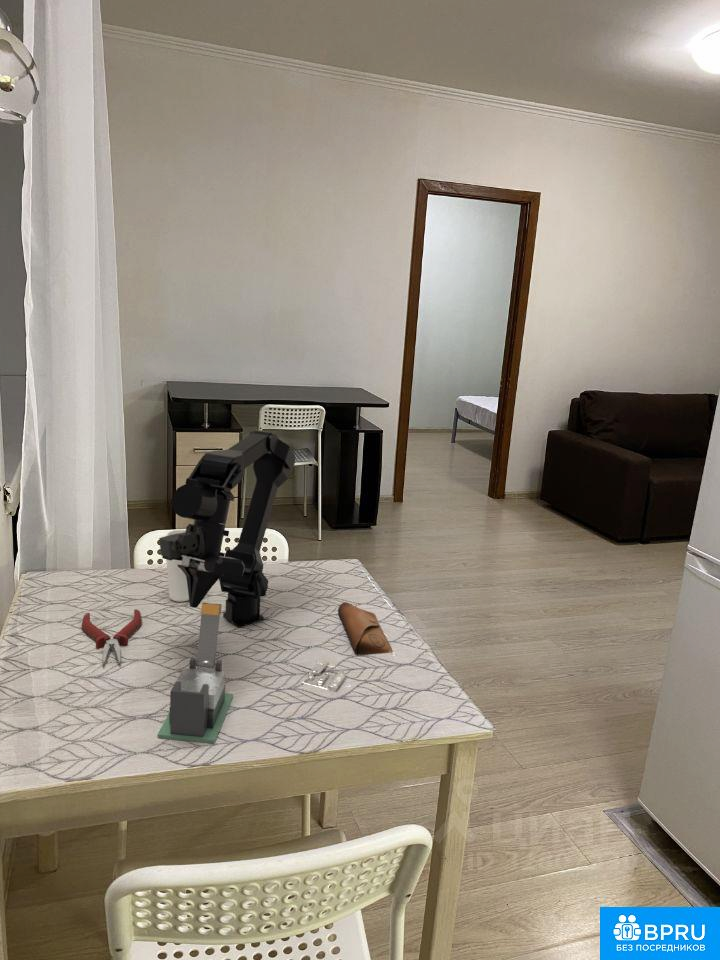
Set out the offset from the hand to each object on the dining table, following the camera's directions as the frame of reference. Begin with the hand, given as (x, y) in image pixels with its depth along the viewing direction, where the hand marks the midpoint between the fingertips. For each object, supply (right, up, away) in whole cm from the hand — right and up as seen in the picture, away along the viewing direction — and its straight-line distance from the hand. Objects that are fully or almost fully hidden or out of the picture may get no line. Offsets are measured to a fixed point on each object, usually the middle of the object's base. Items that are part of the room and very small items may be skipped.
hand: (193, 607), depth 129 cm
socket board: (+3, -16, -12) cm, 20 cm away
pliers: (-20, -9, +10) cm, 24 cm away
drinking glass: (-10, -3, +30) cm, 32 cm away
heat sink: (+3, -15, -11) cm, 19 cm away
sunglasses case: (+31, -10, +21) cm, 39 cm away
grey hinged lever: (+4, -8, -9) cm, 13 cm away
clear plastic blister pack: (+24, -14, +3) cm, 28 cm away
